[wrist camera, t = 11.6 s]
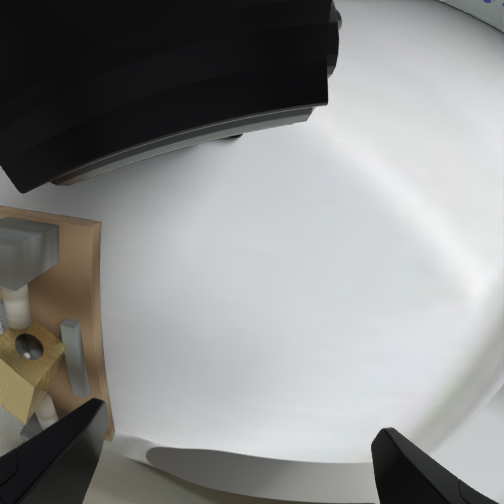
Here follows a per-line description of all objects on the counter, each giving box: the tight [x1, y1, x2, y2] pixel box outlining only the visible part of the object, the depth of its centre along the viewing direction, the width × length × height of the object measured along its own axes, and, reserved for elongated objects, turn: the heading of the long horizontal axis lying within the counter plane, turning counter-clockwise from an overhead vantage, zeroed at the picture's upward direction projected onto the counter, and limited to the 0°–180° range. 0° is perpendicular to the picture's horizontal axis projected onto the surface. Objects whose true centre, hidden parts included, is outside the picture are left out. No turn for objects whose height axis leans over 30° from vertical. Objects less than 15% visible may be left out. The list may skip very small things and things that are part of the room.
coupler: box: [0, 317, 67, 425], centre depth 16 cm, size 6×4×5 cm, turn 143°
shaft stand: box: [0, 206, 115, 442], centre depth 17 cm, size 21×10×6 cm, turn 170°
